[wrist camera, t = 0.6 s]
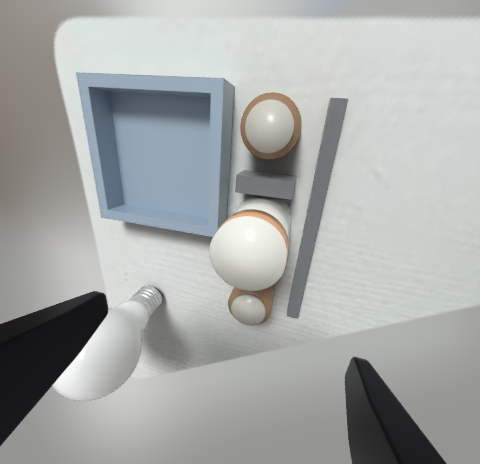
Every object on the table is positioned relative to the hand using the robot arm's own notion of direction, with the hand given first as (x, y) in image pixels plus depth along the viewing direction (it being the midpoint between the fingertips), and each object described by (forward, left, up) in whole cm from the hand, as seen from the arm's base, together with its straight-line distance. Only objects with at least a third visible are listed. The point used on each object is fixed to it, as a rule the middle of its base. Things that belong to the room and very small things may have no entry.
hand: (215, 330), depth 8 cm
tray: (+9, -4, -12) cm, 16 cm away
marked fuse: (0, 0, -12) cm, 12 cm away
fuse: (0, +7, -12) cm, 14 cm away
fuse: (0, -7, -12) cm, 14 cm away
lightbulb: (+11, +11, -13) cm, 20 cm away
